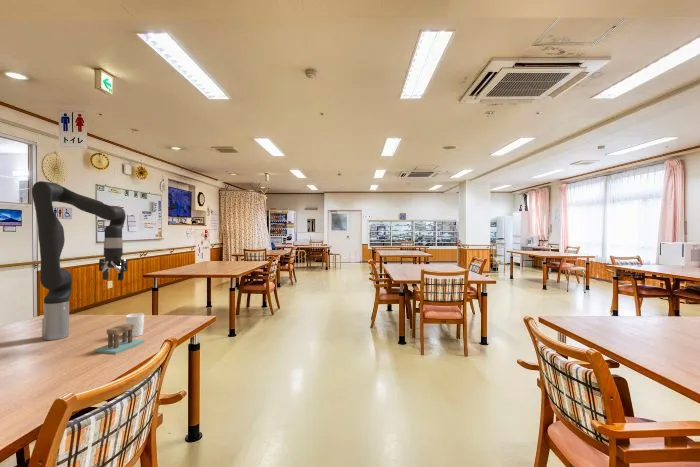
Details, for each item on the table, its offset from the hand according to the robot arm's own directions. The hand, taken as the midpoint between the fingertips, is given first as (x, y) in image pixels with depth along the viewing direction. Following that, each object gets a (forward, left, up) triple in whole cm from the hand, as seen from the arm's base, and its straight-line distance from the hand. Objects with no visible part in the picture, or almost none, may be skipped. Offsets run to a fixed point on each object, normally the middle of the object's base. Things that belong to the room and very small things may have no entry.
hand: (113, 280), depth 160 cm
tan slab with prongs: (+15, -10, -27) cm, 33 cm away
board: (+15, -10, -28) cm, 33 cm away
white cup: (+7, +6, -28) cm, 30 cm away
